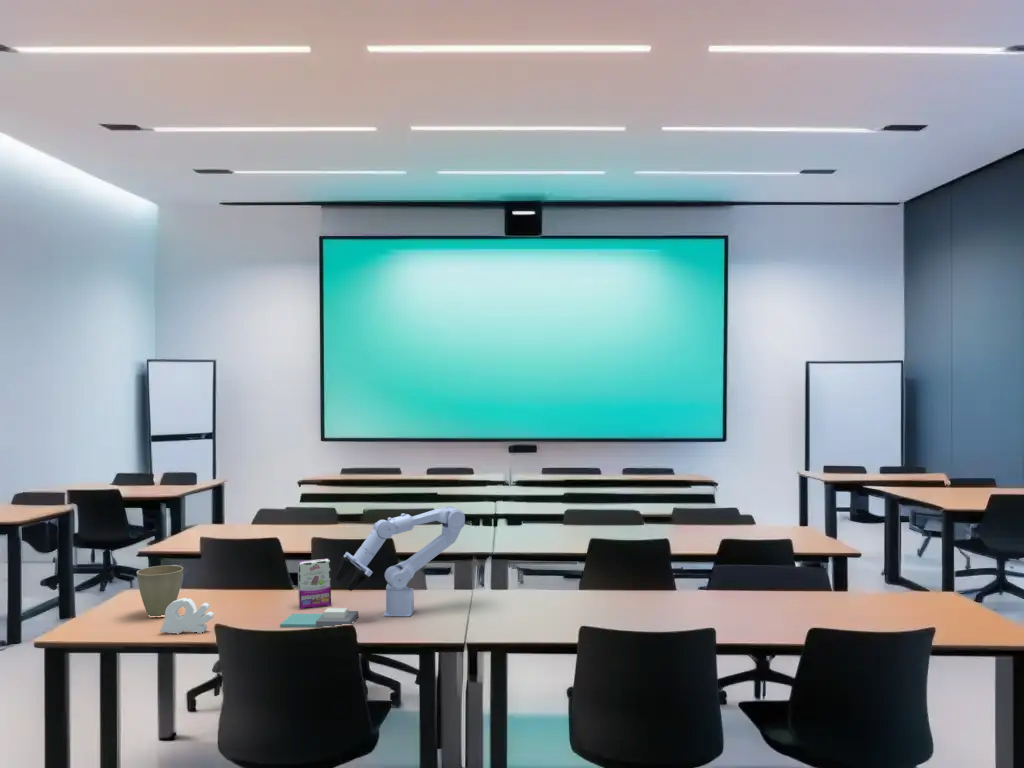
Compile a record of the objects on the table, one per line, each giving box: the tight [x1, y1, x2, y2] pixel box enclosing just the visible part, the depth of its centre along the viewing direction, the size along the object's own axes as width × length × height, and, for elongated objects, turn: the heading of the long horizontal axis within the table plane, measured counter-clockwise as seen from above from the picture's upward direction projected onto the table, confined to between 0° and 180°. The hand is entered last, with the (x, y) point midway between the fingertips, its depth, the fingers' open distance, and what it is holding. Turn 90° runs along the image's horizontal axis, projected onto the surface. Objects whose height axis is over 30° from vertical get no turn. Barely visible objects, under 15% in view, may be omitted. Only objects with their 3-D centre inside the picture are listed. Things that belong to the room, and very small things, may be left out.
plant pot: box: [136, 564, 184, 616], centre depth 269 cm, size 15×15×16 cm
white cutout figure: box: [159, 597, 215, 634], centre depth 249 cm, size 3×15×11 cm, turn 95°
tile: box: [323, 607, 349, 618], centre depth 258 cm, size 7×5×2 cm
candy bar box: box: [297, 558, 332, 610], centre depth 278 cm, size 11×5×16 cm, turn 112°
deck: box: [315, 610, 359, 628], centre depth 258 cm, size 11×12×2 cm
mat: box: [279, 613, 324, 628], centre depth 259 cm, size 12×12×1 cm
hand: (342, 584), depth 260 cm, fingers open, 7 cm apart
